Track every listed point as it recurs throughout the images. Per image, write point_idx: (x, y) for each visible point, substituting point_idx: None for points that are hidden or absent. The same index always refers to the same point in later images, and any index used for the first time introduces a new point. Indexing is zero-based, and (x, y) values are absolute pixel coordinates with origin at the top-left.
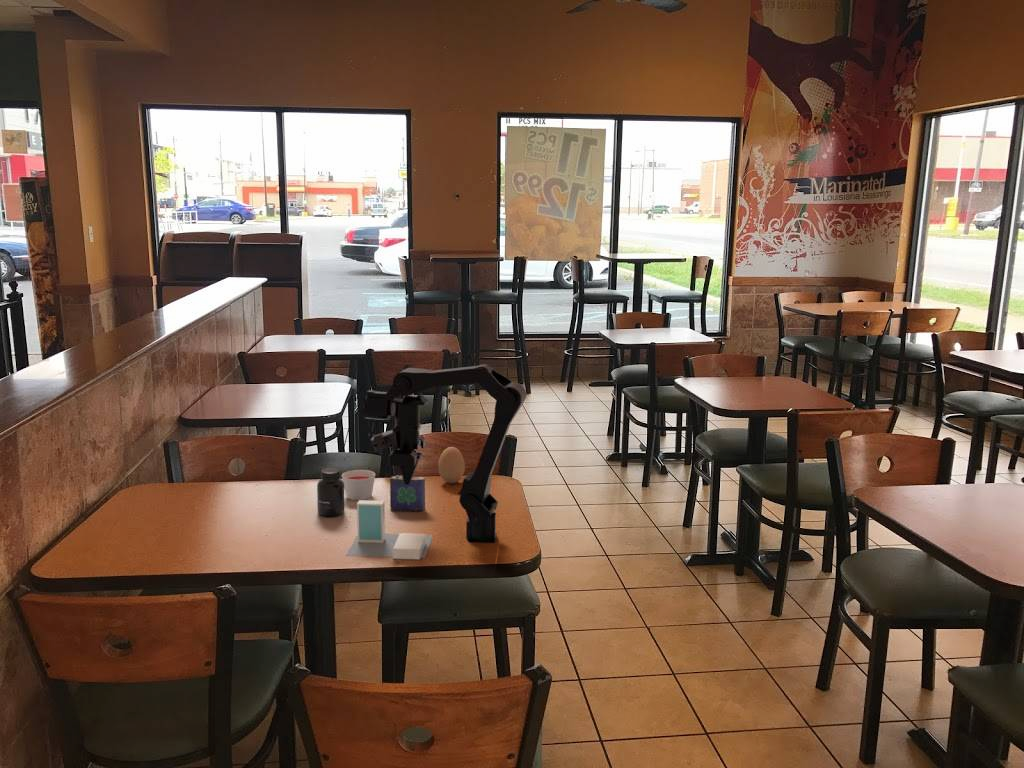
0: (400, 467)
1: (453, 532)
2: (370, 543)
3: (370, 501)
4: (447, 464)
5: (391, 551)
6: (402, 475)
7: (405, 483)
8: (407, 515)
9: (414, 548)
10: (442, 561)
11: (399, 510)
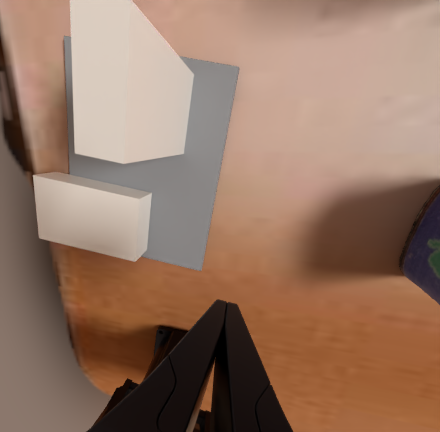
0: (115, 409)
1: None
2: None
3: (111, 82)
4: None
5: (100, 169)
6: (185, 336)
7: (214, 305)
8: (382, 225)
9: (41, 227)
10: (73, 268)
11: (429, 205)
